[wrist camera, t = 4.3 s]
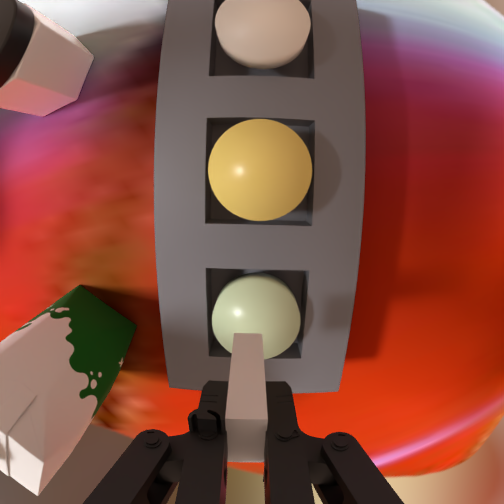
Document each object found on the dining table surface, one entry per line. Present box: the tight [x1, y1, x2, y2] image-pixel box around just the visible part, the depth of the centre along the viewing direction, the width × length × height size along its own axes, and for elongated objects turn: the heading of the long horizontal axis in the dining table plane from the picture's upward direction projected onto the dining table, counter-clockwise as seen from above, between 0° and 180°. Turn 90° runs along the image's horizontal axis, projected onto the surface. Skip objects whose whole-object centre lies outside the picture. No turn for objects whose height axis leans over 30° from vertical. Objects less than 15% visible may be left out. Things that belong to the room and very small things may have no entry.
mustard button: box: [208, 119, 312, 221], centre depth 18 cm, size 6×6×2 cm
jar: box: [0, 0, 94, 117], centre depth 16 cm, size 9×8×12 cm
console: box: [154, 0, 366, 393], centre depth 22 cm, size 14×34×5 cm, turn 179°
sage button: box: [212, 272, 300, 359], centre depth 21 cm, size 6×6×2 cm
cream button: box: [215, 0, 311, 69], centre depth 16 cm, size 6×6×2 cm
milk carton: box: [0, 285, 137, 496], centre depth 18 cm, size 9×9×20 cm
